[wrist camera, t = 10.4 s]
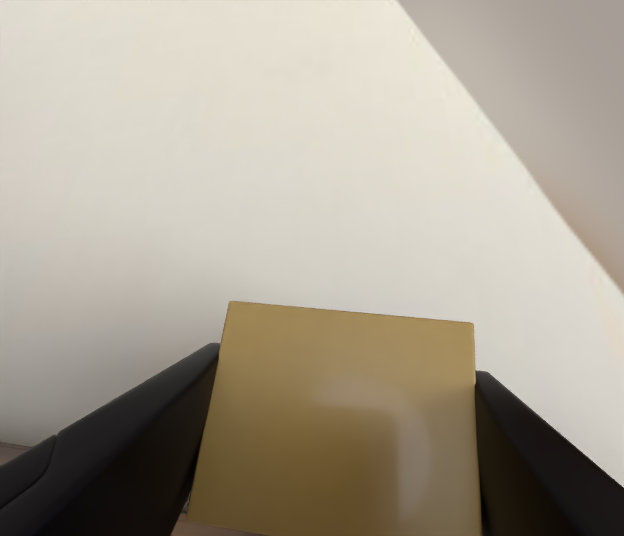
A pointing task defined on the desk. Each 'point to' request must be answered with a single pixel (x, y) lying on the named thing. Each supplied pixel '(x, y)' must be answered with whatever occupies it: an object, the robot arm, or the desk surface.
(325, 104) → the desk surface
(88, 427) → the robot arm
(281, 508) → the tea tin
